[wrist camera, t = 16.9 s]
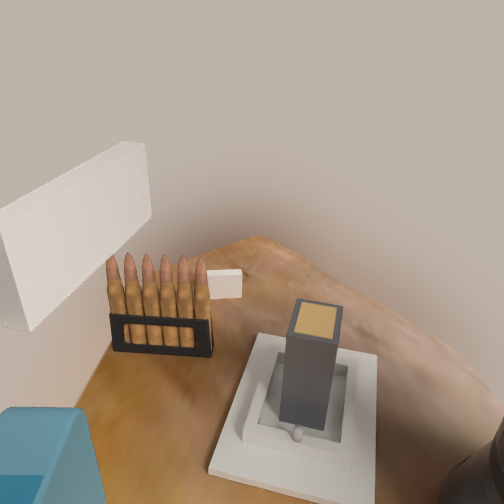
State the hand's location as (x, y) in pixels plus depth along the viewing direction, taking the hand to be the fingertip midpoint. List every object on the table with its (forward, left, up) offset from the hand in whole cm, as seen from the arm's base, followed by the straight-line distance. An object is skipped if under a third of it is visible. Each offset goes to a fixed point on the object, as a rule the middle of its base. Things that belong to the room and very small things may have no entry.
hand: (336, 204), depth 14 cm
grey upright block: (+1, -16, -27) cm, 31 cm away
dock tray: (+1, -16, -28) cm, 32 cm away
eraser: (+14, -31, -28) cm, 44 cm away
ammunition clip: (+17, -20, -28) cm, 38 cm away
